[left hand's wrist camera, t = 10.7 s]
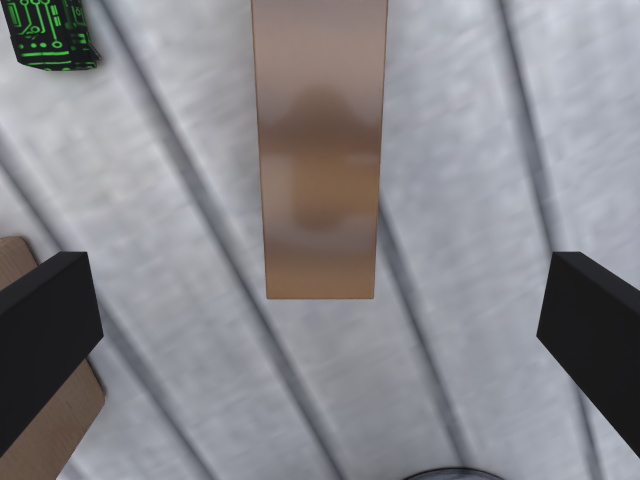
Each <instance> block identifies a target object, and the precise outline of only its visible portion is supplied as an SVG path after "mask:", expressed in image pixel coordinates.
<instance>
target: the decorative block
mask: <svg viewBox="0 0 640 480" xmlns="http://www.w3.org/2000/svg"><path fill="white" fill-rule="evenodd" d="M36 267H37V264H36V262H35V260H34V258H33V256H32V254H31V252H30V251H29V249H28V247H27V245H26V243H25V241H24V240H23V239H21V238H20V237H6V238H2V239H0V291H1V290H2V289H4V288H5V287H7V286H9V285H10V284H12V283H13V282H15V281H16V280H18V279H19V278H21V277H22V276H24V275H25V274H27V273H28V272H30V271H31V270H33V269H34V268H36ZM104 403H105V395H104V393H103V391H102V389H101V387H100V385H99V383H98V381H97V379H96V377H95V376H94V374H93V372H92V370H91V368H90V366H89V364H88V362H87V360H86V358H85V359H84V360H83V361H82V363H81V364H80V365H79V366H78V367H77V368H76V370H75V371H74V372H73V373H72V374H71V376H70V377H69V378H68V379H67V380H66V381H65V383H64V384H63V385H62V386H61V387H60V389H59V390H58V391H57V392H56V393H55V394H54V396H53V397H52V398H51V399H50V400H49V402H48V403H47V404H46V405H45V406H44V407H43V409H42V410H41V411H40V412H39V413H38V415H37V416H36V417H35V418H34V419H33V420H32V422H31V423H30V424H29V425H28V426H27V428H26V429H25V430H24V431H23V432H22V433H21V435H20V436H19V437H18V438H17V439H16V440H15V442H14V443H13V444H12V445H11V446H10V448H9V449H8V450H7V451H6V452H5V453H4V455H3V456H2V457H1V458H0V480H56V478H57V477H58V475H59V473H60V472H61V470H62V469H63V467H64V466H65V464H66V463H67V461H68V460H69V458H70V456H71V455H72V453H73V452H74V450H75V449H76V447H77V446H78V444H79V443H80V441H81V439H82V438H83V436H84V435H85V433H86V432H87V430H88V429H89V427H90V426H91V424H92V422H93V421H94V419H95V418H96V416H97V415H98V413H99V412H100V410H101V409H102V407H103V405H104Z"/></svg>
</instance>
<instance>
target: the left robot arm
mask: <svg viewBox="0 0 640 480" xmlns="http://www.w3.org/2000/svg"><path fill="white" fill-rule="evenodd" d="M103 337H104V335H103V330H102V325H101V320H100V315H99V310H98V304H97V299H96V294H95V289H94V284H93V279H92V274H91V269H90V264H89V259H88V254H87V252H59V253H57V254H56V255H54V256H53V257H51V258H50V259H48V260H47V261H45V262H44V263H42V264H40V265H39V266H37V267H36V268H34V269H33V270H31V271H30V272H28V273H27V274H25V275H24V276H22V277H21V278H19V279H18V280H16V281H15V282H13V283H12V284H10V285H9V286H7V287H5V288H4V289H2V290H1V291H0V458H1V457H2V456H3V455H4V453H5V452H6V451H7V450H8V449H9V448H10V446H11V445H12V444H13V443H14V442H15V440H16V439H17V438H18V437H19V436H20V435H21V433H22V432H23V431H24V430H25V429H26V428H27V426H28V425H29V424H30V423H31V422H32V420H33V419H34V418H35V417H36V416H37V415H38V413H39V412H40V411H41V410H42V409H43V407H44V406H45V405H46V404H47V403H48V402H49V400H50V399H51V398H52V397H53V396H54V394H55V393H56V392H57V391H58V390H59V389H60V387H61V386H62V385H63V384H64V383H65V381H66V380H67V379H68V378H69V377H70V376H71V374H72V373H73V372H74V371H75V370H76V368H77V367H78V366H79V365H80V364H81V363H82V361H83V360H84V359H85V358H86V357H87V355H88V354H89V353H90V352H91V351H92V350H93V348H94V347H95V346H96V345H97V344H98V342H99V341H100V340H101V339H102V338H103ZM536 337H537V338H538V339H539V340H540V341H541V342H542V344H543V345H544V346H545V347H546V348H547V350H548V351H549V352H550V353H551V354H552V355H553V357H554V358H555V359H556V360H557V361H558V363H559V364H560V365H561V366H562V367H563V368H564V370H565V371H566V372H567V373H568V374H569V376H570V377H571V378H572V379H573V380H574V381H575V383H576V384H577V385H578V386H579V387H580V389H581V390H582V391H583V392H584V393H585V394H586V396H587V397H588V398H589V399H590V400H591V402H592V403H593V404H594V405H595V406H596V407H597V409H598V410H599V411H600V412H601V413H602V415H603V416H604V417H605V418H606V419H607V420H608V422H609V423H610V424H611V425H612V426H613V428H614V429H615V430H616V431H617V432H618V433H619V435H620V436H621V437H622V438H623V439H624V440H625V442H626V443H627V444H628V445H629V446H630V448H631V449H632V450H633V451H634V452H635V453H636V455H637V456H638V457H639V458H640V291H639V290H638V289H636V288H635V287H633V286H631V285H630V284H628V283H627V282H625V281H624V280H622V279H621V278H619V277H618V276H616V275H615V274H613V273H612V272H610V271H609V270H607V269H606V268H604V267H603V266H601V265H600V264H598V263H596V262H595V261H593V260H592V259H590V258H589V257H587V256H586V255H584V254H583V253H581V252H553V254H552V259H551V264H550V269H549V274H548V279H547V284H546V289H545V294H544V299H543V304H542V310H541V315H540V320H539V325H538V330H537V335H536ZM407 480H502V479H500V478H498V477H495V476H493V475H490V474H487V473H483V472H479V471H474V470H466V469H446V470H438V471H432V472H428V473H424V474H421V475H417V476H415V477H412V478H410V479H407Z"/></svg>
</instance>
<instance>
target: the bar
mask: <svg viewBox="0 0 640 480" xmlns="http://www.w3.org/2000/svg"><path fill="white" fill-rule="evenodd" d="M251 9H252V28H253V47H254V66H255V85H256V104H257V124H258V143H259V162H260V181H261V200H262V219H263V238H264V257H265V276H266V295H267V299H373V298H374V282H375V261H376V240H377V220H378V199H379V178H380V158H381V137H382V116H383V96H384V75H385V54H386V34H387V13H388V0H251Z"/></svg>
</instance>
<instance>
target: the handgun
mask: <svg viewBox="0 0 640 480" xmlns="http://www.w3.org/2000/svg"><path fill="white" fill-rule="evenodd" d="M0 1H1V4H2V8H3V11H4V14H5V18H6V21H7V25H8V28H9V32H10V35H11V37H10V38H11V41H12V45H13V48H14V51H15V54H16V58H17V61H18V62H19V63H21V64H23V65H26V66H30V67H34V68H38V69H42V70H46V71H73V70H88V69H92V68H97V66H96V62H95V61H97V60H102V59H103V58H102V57H101V55H100V54H99V53H98V52H97V50H96V49H95V48H94V47H93V46H92V44H91V41H90V37H89V33H88V30H87V27H86V23H85V19H84V15H83V11H82V7H81V2H80V0H0Z"/></svg>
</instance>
